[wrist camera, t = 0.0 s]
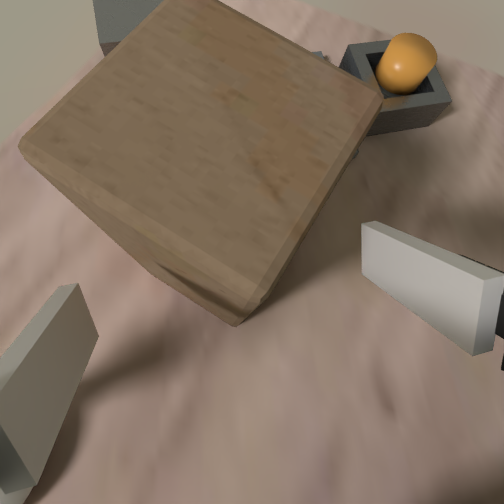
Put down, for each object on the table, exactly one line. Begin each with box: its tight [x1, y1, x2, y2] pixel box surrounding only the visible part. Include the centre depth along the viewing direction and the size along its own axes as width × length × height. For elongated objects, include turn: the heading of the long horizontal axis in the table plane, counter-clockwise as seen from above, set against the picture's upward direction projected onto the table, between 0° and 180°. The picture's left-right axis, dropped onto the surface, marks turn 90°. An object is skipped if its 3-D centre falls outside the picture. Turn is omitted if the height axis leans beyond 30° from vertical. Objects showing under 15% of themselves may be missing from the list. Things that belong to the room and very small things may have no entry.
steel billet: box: [93, 0, 164, 57], centre depth 28 cm, size 5×5×12 cm
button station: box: [339, 40, 452, 136], centre depth 35 cm, size 9×9×4 cm
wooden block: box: [18, 0, 384, 327], centre depth 21 cm, size 10×10×20 cm
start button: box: [375, 33, 437, 95], centre depth 33 cm, size 5×5×3 cm
